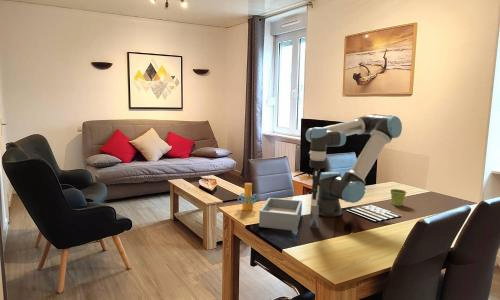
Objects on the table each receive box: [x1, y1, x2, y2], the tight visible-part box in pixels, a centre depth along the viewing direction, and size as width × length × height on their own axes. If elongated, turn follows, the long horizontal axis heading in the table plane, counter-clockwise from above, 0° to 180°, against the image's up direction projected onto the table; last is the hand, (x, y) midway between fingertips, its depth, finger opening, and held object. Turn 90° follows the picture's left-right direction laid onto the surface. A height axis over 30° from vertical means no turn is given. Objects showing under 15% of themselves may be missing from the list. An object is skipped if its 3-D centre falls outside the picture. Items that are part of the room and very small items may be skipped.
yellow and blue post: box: [237, 182, 259, 212], centre depth 204 cm, size 12×10×15 cm
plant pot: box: [389, 188, 408, 207], centre depth 222 cm, size 9×9×9 cm
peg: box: [309, 203, 320, 229], centre depth 180 cm, size 4×4×12 cm
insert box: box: [258, 197, 303, 232], centre depth 188 cm, size 18×24×8 cm
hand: (314, 201), depth 179 cm, fingers open, 13 cm apart
